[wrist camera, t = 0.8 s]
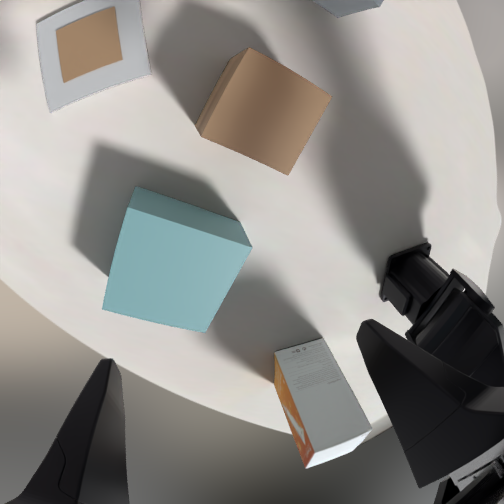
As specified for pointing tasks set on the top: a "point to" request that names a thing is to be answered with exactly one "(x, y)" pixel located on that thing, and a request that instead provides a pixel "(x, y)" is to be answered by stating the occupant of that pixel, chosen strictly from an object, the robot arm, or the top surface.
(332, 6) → the grey cube
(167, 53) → the top surface
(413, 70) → the top surface
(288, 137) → the walnut cube
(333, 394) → the small box
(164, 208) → the teal base block
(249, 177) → the top surface
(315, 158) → the top surface
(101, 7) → the tile
